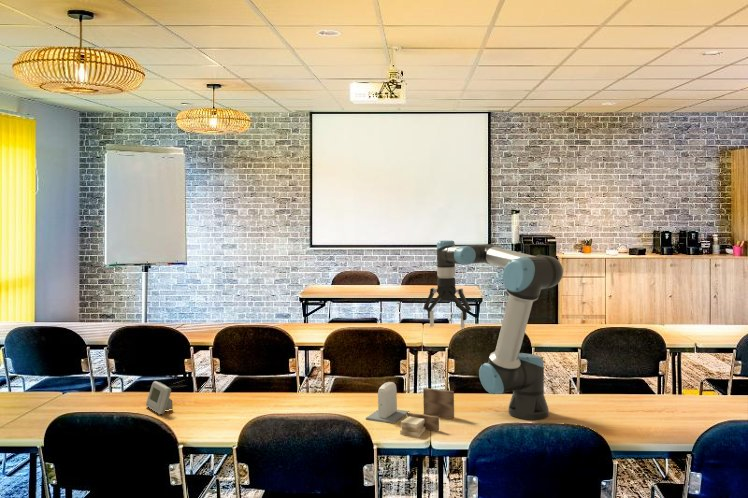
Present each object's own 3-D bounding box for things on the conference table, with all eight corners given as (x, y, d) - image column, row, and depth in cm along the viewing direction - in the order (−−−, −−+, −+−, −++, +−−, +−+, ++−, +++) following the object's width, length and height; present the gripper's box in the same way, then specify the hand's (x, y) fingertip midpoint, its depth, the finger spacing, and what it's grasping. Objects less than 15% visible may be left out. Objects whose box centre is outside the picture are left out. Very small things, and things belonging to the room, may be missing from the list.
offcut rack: (454, 416, 235) (453, 391, 235) (438, 431, 220) (437, 403, 219) (425, 413, 241) (424, 387, 240) (407, 426, 225) (407, 400, 225)
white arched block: (387, 419, 232) (386, 386, 232) (376, 417, 234) (376, 385, 234) (398, 411, 242) (397, 380, 241) (388, 409, 244) (388, 379, 243)
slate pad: (409, 412, 242) (409, 411, 241) (394, 423, 229) (394, 421, 229) (381, 408, 247) (381, 407, 247) (365, 419, 234) (365, 417, 234)
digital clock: (145, 406, 257) (144, 381, 256) (167, 403, 261) (166, 378, 260) (151, 417, 242) (150, 391, 242) (174, 413, 247) (173, 387, 246)
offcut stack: (426, 430, 221) (425, 418, 221) (419, 437, 215) (418, 424, 214) (406, 428, 224) (406, 416, 224) (399, 434, 218) (399, 422, 217)
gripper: (477, 276, 256) (478, 327, 257) (421, 275, 267) (422, 324, 268) (472, 278, 249) (473, 330, 250) (415, 277, 260) (416, 327, 261)
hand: (447, 327), depth 259 cm, fingers open, 13 cm apart
